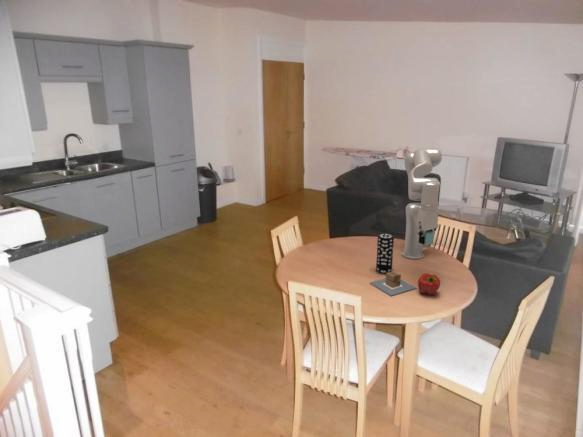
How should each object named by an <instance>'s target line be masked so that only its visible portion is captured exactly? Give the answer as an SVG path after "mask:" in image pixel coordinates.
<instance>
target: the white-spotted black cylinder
mask: <svg viewBox="0 0 583 437" xmlns="http://www.w3.org/2000/svg"><path fill="white" fill-rule="evenodd" d="M394 242H395V236H394V235H393V234H391V233H379V234H378V235H377V244H376V245H377V246H376V263H375V264H376V265H375V271H376V273H378V274H380V275H386V273H388V272H392V271H393V262H394V261H393V260H394V257H393V256H394V244H395V243H394Z"/></svg>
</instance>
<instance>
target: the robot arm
mask: <svg viewBox="0 0 583 437" xmlns="http://www.w3.org/2000/svg"><path fill="white" fill-rule="evenodd" d="M442 156H443V154H442V152H441V150H440V149H439V148H436V147H434V148H433V147H432V148H431V147H430V148H429V147H422V148H421V147H420V148H416V149H415V150H414V151H413V152H412V151H411V152H408V153H406V154H405V155H404V167H405V168H404V169H405V170H406V174H407V178H408V179H407V180H408V181H407V182H408V184H407V185H408V191H407V192H408V199H409V200H411V201H414V202H410V203H408V204H407V205H406V207H405V216H406V217H405V221H406V222H405V237H404V250H402V251H401V252H400V254H401V256H402V257H404V258H405V259H410V260H420V259H422V258H424V257H425V254H424V253H423V252H424V251H427V250H428V247H427V246H424V247H423V244H424V241H425V237H424V235H425V231H427V230H430V231H432V232H434V235H435V234H436V233H435V232H436V231H437V229H439V227H440V226H439V224H438V222H439V218H438V217H439V216H438V215H439V192H440V186H441V183H440V181H439V179H438V178H436V177H425V176H427V175H429V174H431V173H432V171H433V168H435V167H437V166H438V165H439V164H441V162H442V158H443V157H442ZM415 201H420V202H415ZM422 231H423V232H422ZM421 232H422V233H421ZM418 240H419V243H418Z"/></svg>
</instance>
